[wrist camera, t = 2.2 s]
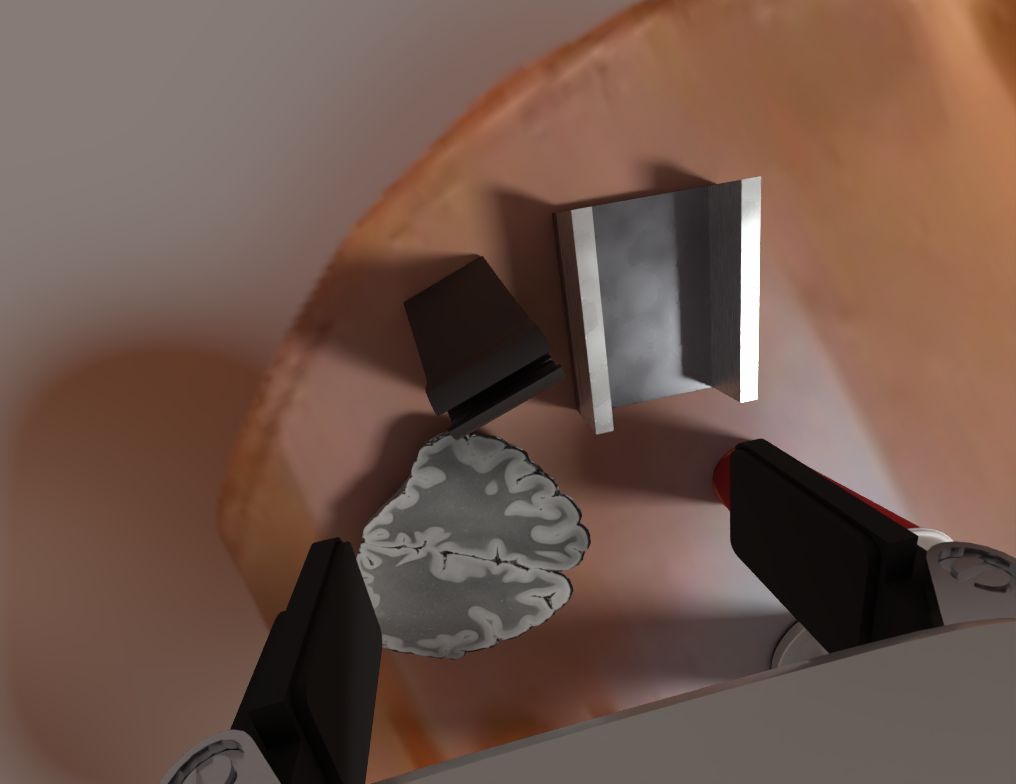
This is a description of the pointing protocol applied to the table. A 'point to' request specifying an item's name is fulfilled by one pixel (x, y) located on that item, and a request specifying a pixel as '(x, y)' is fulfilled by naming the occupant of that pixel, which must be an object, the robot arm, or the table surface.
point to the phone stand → (478, 348)
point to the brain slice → (469, 549)
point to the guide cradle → (661, 296)
